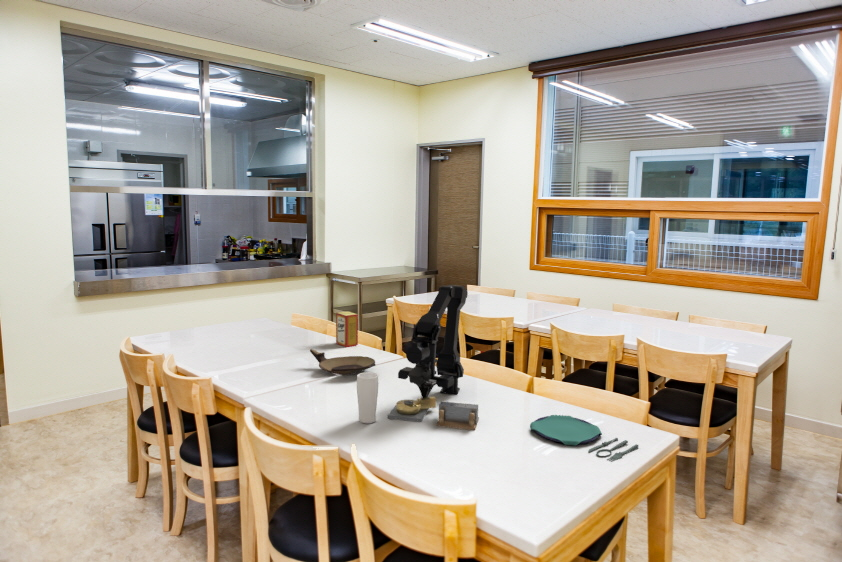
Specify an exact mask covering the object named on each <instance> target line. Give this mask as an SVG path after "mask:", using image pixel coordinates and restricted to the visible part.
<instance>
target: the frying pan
mask: <svg viewBox="0 0 842 562" xmlns="http://www.w3.org/2000/svg"><path fill="white" fill-rule="evenodd" d="M309 351H310V353H311V354H312V356H313V357H314V358H315V359H316V360H317V362H318V363H319V364H318V367H319V368H320V369H321V370H324V371H325V372H328V373H331V374H334V375H340V376H349V375H350V376H351V375H354V374H355V375H356V374H359V373H362V372H364V371H366V370H368V369H370V368H372V367H375V366H376V360H375V359H374V358H372V357H370V356H361V355H352V356H351V355H349V356H338V357H331V358H326V357H325V352H322V351H321V352H318V351H317V350H315V349H313V348H310V349H309Z"/></svg>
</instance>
